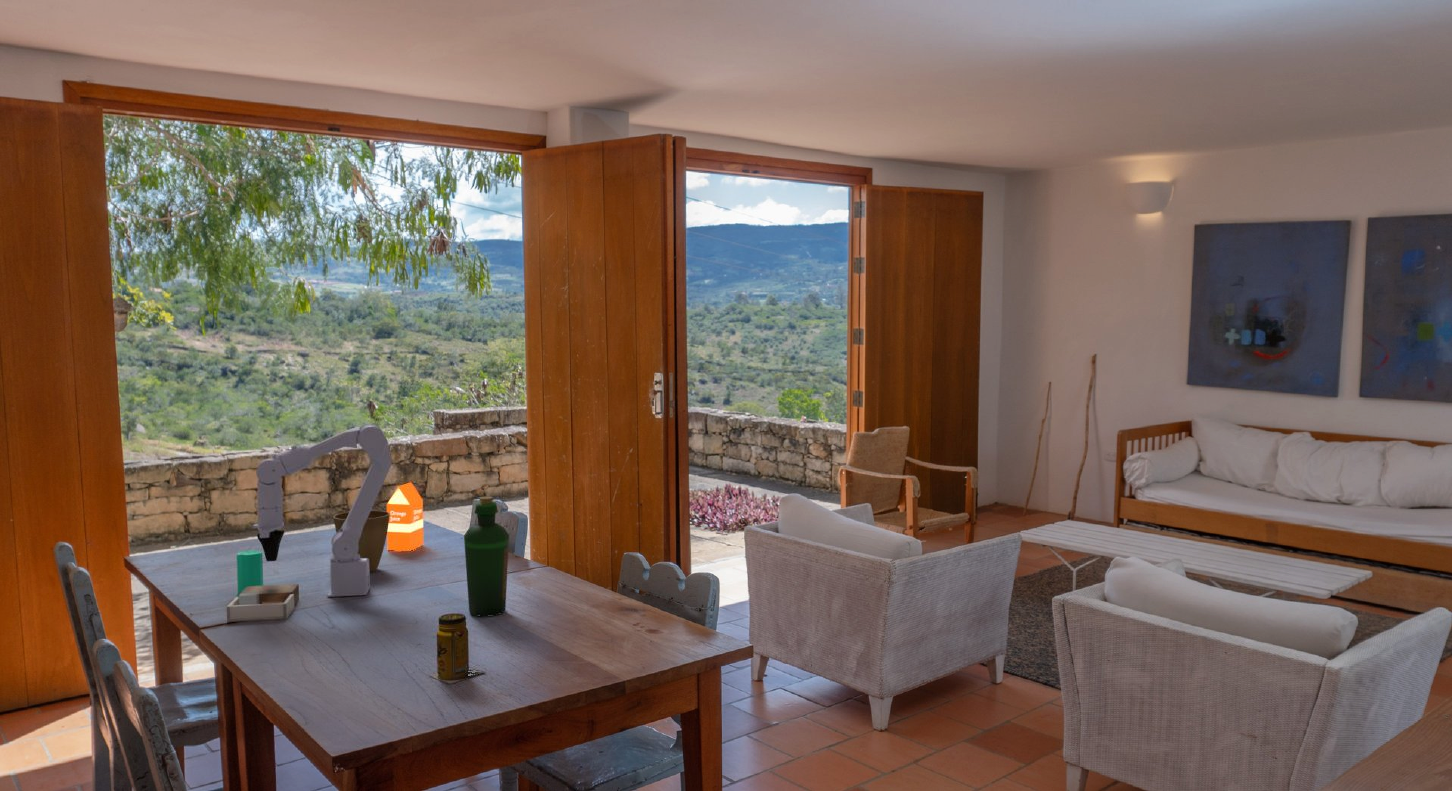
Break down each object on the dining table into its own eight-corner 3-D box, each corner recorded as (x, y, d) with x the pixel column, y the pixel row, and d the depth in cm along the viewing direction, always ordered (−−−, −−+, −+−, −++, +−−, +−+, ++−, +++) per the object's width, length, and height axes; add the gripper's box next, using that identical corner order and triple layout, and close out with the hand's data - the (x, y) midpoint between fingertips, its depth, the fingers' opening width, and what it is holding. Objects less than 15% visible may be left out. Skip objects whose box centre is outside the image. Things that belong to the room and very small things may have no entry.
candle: (253, 596, 255) (251, 549, 254) (232, 594, 256) (231, 548, 256) (268, 590, 261) (267, 544, 260) (248, 588, 262) (246, 543, 261)
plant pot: (402, 568, 285) (401, 513, 284) (357, 579, 272) (356, 521, 271) (367, 561, 293) (366, 507, 292) (323, 572, 280) (322, 515, 279)
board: (299, 599, 252) (298, 583, 252) (292, 608, 245) (292, 592, 244) (247, 602, 250) (247, 586, 249) (239, 611, 242) (238, 594, 242)
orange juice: (386, 550, 307) (385, 486, 306) (400, 544, 316) (399, 481, 314) (410, 551, 306) (409, 487, 304) (424, 545, 314) (423, 482, 313)
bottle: (518, 609, 245) (517, 496, 243) (491, 621, 235) (490, 502, 233) (483, 604, 249) (482, 492, 247) (455, 615, 240) (453, 499, 238)
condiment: (428, 676, 198) (427, 616, 198) (464, 665, 205) (463, 607, 204) (449, 684, 194) (449, 623, 193) (486, 673, 200) (485, 614, 199)
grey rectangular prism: (258, 593, 241) (256, 595, 239) (259, 609, 241) (256, 611, 239) (241, 593, 240) (238, 595, 239) (241, 610, 241) (239, 612, 239)
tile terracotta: (280, 601, 237) (279, 609, 236) (283, 602, 241) (283, 611, 240) (262, 602, 236) (261, 610, 235) (266, 603, 240) (265, 612, 239)
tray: (294, 608, 244) (294, 594, 244) (286, 618, 236) (286, 603, 236) (236, 611, 242) (236, 596, 241) (227, 621, 233) (226, 606, 233)
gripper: (260, 502, 257) (261, 554, 258) (245, 512, 243) (247, 568, 244) (289, 501, 258) (290, 553, 259) (276, 511, 244) (278, 566, 245)
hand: (271, 560), depth 252 cm, fingers closed
